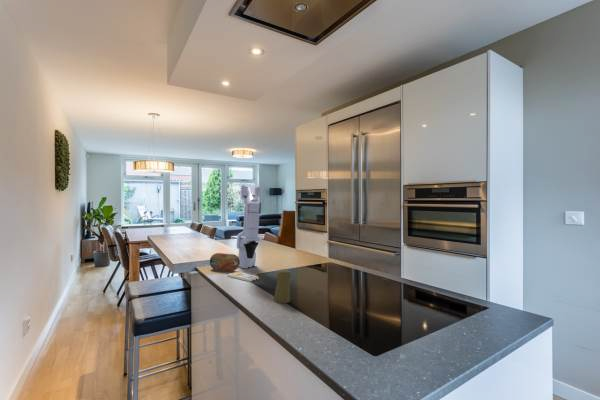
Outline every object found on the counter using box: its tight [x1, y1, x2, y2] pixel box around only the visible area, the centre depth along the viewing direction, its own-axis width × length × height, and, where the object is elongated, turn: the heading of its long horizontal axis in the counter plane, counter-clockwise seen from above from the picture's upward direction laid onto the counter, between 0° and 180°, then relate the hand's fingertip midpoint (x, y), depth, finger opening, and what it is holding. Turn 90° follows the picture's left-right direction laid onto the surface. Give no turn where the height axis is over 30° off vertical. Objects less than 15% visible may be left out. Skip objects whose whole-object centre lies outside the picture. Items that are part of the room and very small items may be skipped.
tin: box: [209, 252, 240, 273], centre depth 149 cm, size 15×3×8 cm, turn 79°
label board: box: [226, 271, 260, 283], centre depth 137 cm, size 6×13×1 cm, turn 61°
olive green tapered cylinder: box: [273, 268, 292, 304], centre depth 108 cm, size 6×6×11 cm
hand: (249, 258), depth 135 cm, fingers closed
